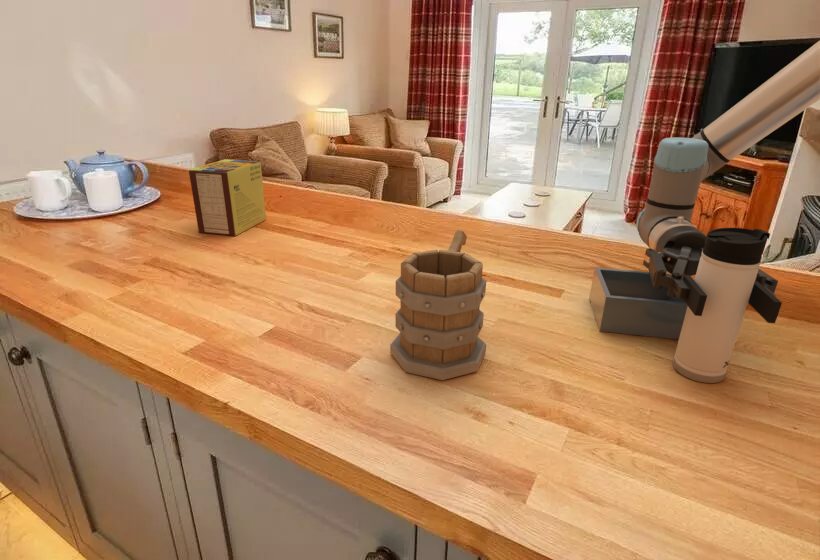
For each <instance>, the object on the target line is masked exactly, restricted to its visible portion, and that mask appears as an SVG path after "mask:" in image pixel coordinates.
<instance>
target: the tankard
mask: <svg viewBox="0 0 820 560" xmlns="http://www.w3.org/2000/svg"><path fill="white" fill-rule="evenodd" d="M467 238H468V236H467V234H466V233H465V231H463V230H459V229H457V230H456V231H455V232H454V235H453V237H452V240H451V242H450V244H449V246H448V249H447V250H446V249H445V250H444V249H439V250H438V249H430V250H425V251H417V252H412V253H411V254H409V255H408V256H407V257H406V258H405V259H404V260H403V261H402V262H401V263H400V276H399V277H398V278H397V279H396V280H395V296H396V297H397V298H398V299H399V300H400V308H399V309H398V310H397V311H396V312H395V328H396V330H398V331H399V333H398V334H397V336H395V338H394V340H393V341H392V342H391V343H390V345H389V346H390V347H389V349H390V350H389V352H390V354H391V356H392V357H393V358H394V359H395V361H396V362H397V364H399V366H400V367H401V368H402V369H403V371H404V372H405V373H407V374H411V375H417V376H422V377H425V378H430V379H435V380H438V381H446V380H449V379H452V378H458V377H461V376H465V375H469V374H473V373H476V372H478V370H479V368H480V366H481V364H482V361H483V359H484V357H485V355H486V352H487V343H486V342H485V341H483V340H482V339H481V338H480V337H479V334H480V333H481V331H482V329H483V327H484V315H485V313H484V312H483V311H482V310H480V308H481V303H482V301H483V300H484V298H485V296H486V291H487V280H486V279H485V278H484V277H483V270H484V264H483V262H481V261H480V260H478V259H476V258H475V257H474V256H472V255H470V254H468V253H466V252H461V250H462V248H463V246H466V244H467Z"/></svg>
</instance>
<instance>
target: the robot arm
mask: <svg viewBox="0 0 820 560" xmlns="http://www.w3.org/2000/svg"><path fill="white" fill-rule="evenodd" d="M818 101H820V40H818V41H817V42H815V43H814V44H813V45H812V46H810V47H809V48H808V49H806V50H805V51H803V53H801V54H800V55H799V56H797V57H796V58H795V59H793V60H792V61H790V63H788V64H787V65H786V66H784V67H783V68H781V69H780V70H779V71H778V72H776V73H775V74H773V76H771V77H770V78H768V79H767V80H766V81H765V82H763V83H762V84H761V85H759V86H758V87H756V89H754V90H753V91H752V92H750V93H748V94H747V95H746V96H745V97H744V98H742V99H741V100H740V101H738V102H737V103H736V104H735V105H733V106H732V107H730V109H728V110H726V111H725V112H724V113H722V115H720V116H719V117H717V118H716V119H715V120H714V121H712V122H711V123H709V124H708V125H707V126H706V127H705V128H703V129H702V130H701V131H700V132H697V133H696V134H695V135H694V136H693V137H681V136H680V137H679V136H677V137H676V136H675V137H674V136H673V137H665V138H663V139H662V140H661V141H659V144H658V148H657V151H656V155H655V156H654V159H653V162H654V164H653V169H652V173H651V174H652V175H651V180H650V184H649V190H648V194H647V198H646V202H645V205H644V208H643V209H642V210H641V211H640V212H639V214H638V215H637V218H636V222H635V223H636V225H635V226H636V231H637V232H638V236H639V238H640V239H641V241H642V242H643V243H644V244H645V245H646V246H647V247H648V248H646V249H645V252H644V256H643V261H642V265H643V267H645V268H646V269H648V272H649V273H650V277H651V281H652V284H653V287H655V288H657V289H662V288H663V286H665V287H669V289H668V293H667V295H668V296H670V297H678V298H683V300H684V301H685V303H686V304H687V305H688V307H689V308H690V310H691V311H692V312H693V314H694V315H695V316H702V313H703V309H704V306H705V302H706V298H707V295H706V294H705V293H704V291H703V290H702V289H701V288H700V287H699V286H698V284H697V283H696V282H695V281H694V280H695V279H694V278H693V277H692V276H696V272H697V269H698V265H699V261H700V257H701V253H702V251H703V248H704V246H705V240H706V237H707V234H705V233H704V232H703V231H702V230H700V229H699V228H697V227H696V226H695V225H694V223H692V222H691V221H692V217H693V213H694V209H695V205H696V200H697V198H698V194H699V190H700V186H701V183H702V182H703V181H704V180H705V179H707V178H708V177H710V176H711V175H712V174H714V173H715V172H717V171H719V170H720V169H721V168H723V167H724V166H725V165H727V164H728V163H729V162H731V161H732V160H734V159H735V158H737V157H738V156H739V155H741V154H742V153H744V152H746V151H747V150H748V149H750V148H751V147H753V146H754V145H756V144H757V143H758V142H760V141H761V140H763V139H764V138H765V137H767V136H769V135H770V134H771V133H773V132H774V131H776V130H778V129H779V128H781V127H782V126H783V125H785V124H786V123H788V122H789V121H791V120H792V119H794V118H796V116H798V115H799V114H801V113H802V112H804V111H805V110H806V109H808V108H809V107H811V106H813V105H814V104H816V103H817V102H818ZM666 273H667V274H666ZM671 274H672V275H671ZM778 283H779V280H778V279H776V278H775V277H773V276H772V275H770V274H768V273H767V272H765V271H763V270H762V269H761V268H759V269H758V273H757V276H756V279H755V282H754V285H753V288H752V292H751V295H750V298H749V301H748V305H749V306H751V308H753V310H754V311H755V312H756V313H757V314H759V315H760V317H762V319H764V321H765V322H767V323H768V324H776V321H777V319H778V317H779V316H778V315H779V313H780V310H781V307H782V304H783V302H782V301H781V300H780V299H779V298H777V295H776V294H775V292H776V289H777V286H778Z"/></svg>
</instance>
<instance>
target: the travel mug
mask: <svg viewBox="0 0 820 560" xmlns="http://www.w3.org/2000/svg"><path fill="white" fill-rule="evenodd" d="M706 236H707V237H706V240H705V246H704V248H703V251H702V253H701V257H700V261H699V265H698V269H697V272H696V275H694V279H693V280H694V281H695V282H696V283H697V284H698V286H699V287H700V288H701V289H702V290H703V291H704V293H705V294H706V295H707V298H706V302H705V306H704V309H703V313H702V316H695V315H694V314H693V312H692V311H691V310H690V308H689V307H687V310H686V314H685V318H684V322H683V326H682V329H681V333H680V337H679V340H677V345H676V349H675V354H674V357H673V360H672V366H673V368H674V369H675V371H677V372H678V373H679V374H680V375H681V376H683V377H685V378H687V379H690V380H692V381H694V382H699V383H704V384H715V383H720V382H722V381H723V380H724V379H725V376H726V375H727V370H728V367H729V364H730V361H731V358H732V355H733V351H734V348H735V346H736V342H737V339H738V336H739V332H740V329H741V327H742V324H743V320H744V317H745V313H746V311H747V307H748V305H749V303H748V301H749V298H750V295H751V292H752V288H753V285H754V282H755V279H756V276H757V273H758V269H760V265H761V263H762V258H763V254H764V251H765V248H766V245H767V242H768V240H769V239H770V236H771V233H770V232H768V231H766V230H764V229H761V228H754V229H751V228H744V227H722V228H721V227H720V228H714V229H711V230H709V231H707V233H706Z"/></svg>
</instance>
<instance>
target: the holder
mask: <svg viewBox="0 0 820 560" xmlns="http://www.w3.org/2000/svg"><path fill="white" fill-rule="evenodd" d="M666 274H668V272H666ZM671 275H672V274H671ZM668 289H669V287H665V286H663V288H662V289H657V288H655V287H653V284H652V281H651V277H650V273H649V271H642V270H629V269H619V268H607V267H594V269H593V274H592V279H591V286H590V292H589V297H588V299H589V302H590V305H591V308H592V312H593V314H594V318H595V322H596V325H597V327H598V331H599V332H602V333H603V332H604V333H611V334H621V335H630V336H631V335H632V336H641V337H649V338H650V337H651V338H660V339H670V340H677V341H679V337H680V333H681V329H682V326H683V322H684V318H685V314H686V310H687V307H688V305H687V304H686V303H685V301H684V300H683V298H678V297H670V296H668V295H667V293H668Z"/></svg>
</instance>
